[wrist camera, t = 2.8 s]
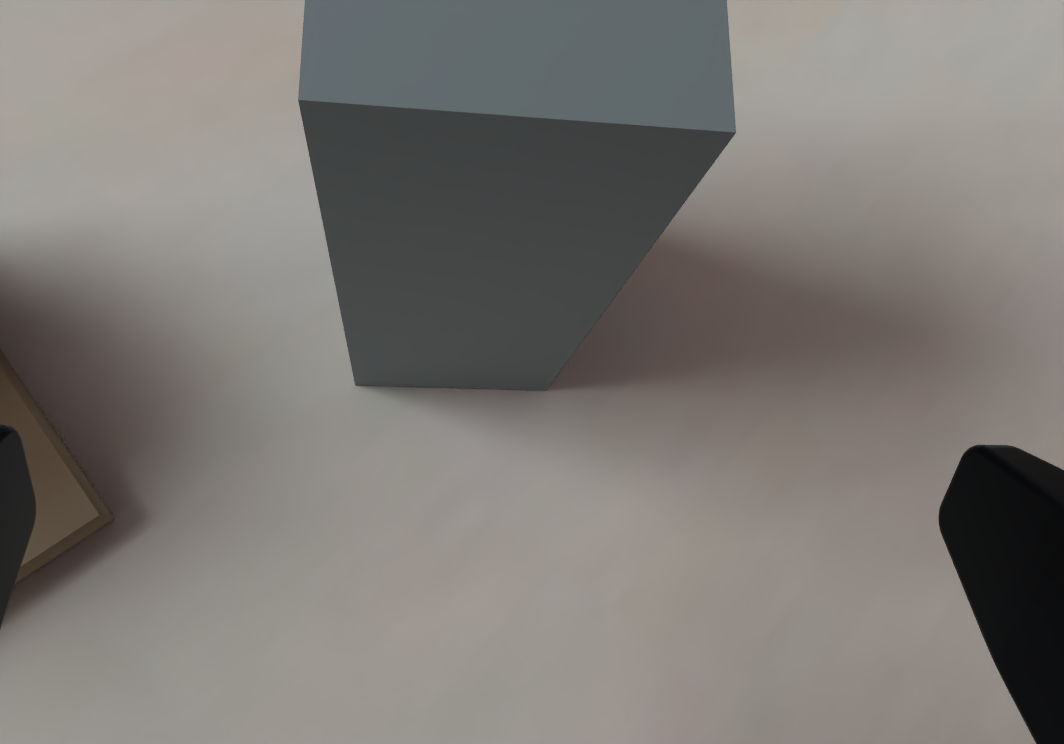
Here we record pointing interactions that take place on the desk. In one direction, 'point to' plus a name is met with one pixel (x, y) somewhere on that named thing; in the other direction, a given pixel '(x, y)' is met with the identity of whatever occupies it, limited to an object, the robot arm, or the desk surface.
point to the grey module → (501, 169)
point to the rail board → (49, 478)
